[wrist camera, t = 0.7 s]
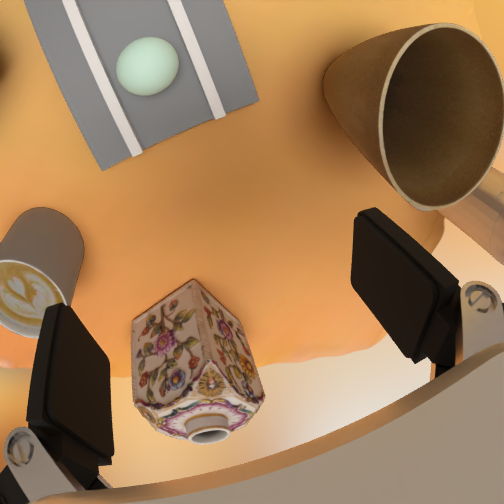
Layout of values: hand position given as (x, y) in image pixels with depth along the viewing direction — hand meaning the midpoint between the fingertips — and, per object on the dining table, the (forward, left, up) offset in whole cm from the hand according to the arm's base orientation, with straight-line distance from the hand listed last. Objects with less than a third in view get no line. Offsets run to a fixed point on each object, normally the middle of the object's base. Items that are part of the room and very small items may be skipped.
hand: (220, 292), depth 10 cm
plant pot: (-19, +2, -24) cm, 31 cm away
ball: (0, -7, -19) cm, 20 cm away
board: (0, -14, -24) cm, 28 cm away
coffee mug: (+21, +6, -24) cm, 33 cm away
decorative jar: (+10, +24, -25) cm, 36 cm away
